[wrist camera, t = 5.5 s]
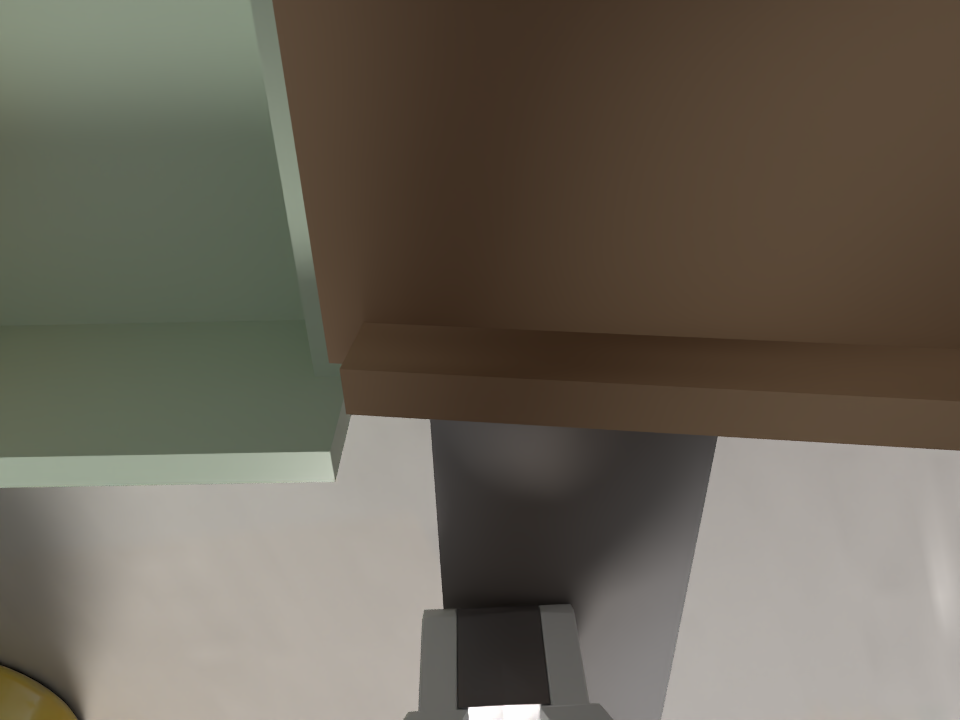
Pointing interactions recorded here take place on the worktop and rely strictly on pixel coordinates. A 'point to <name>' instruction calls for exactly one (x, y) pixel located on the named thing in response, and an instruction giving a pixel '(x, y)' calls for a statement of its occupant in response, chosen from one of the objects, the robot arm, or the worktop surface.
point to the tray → (156, 252)
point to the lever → (627, 267)
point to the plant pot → (29, 699)
